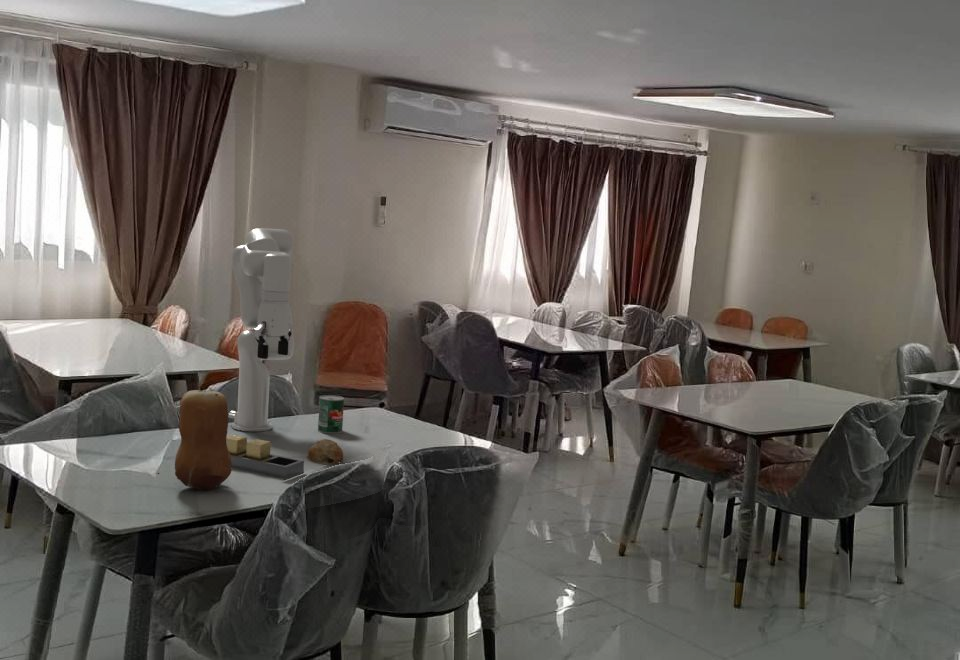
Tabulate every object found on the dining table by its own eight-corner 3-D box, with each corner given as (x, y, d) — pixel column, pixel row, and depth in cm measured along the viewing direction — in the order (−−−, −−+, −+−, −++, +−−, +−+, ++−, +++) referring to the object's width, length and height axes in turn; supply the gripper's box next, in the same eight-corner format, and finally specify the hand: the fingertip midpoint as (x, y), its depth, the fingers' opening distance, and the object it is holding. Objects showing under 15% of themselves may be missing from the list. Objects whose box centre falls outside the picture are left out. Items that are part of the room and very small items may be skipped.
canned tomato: (321, 427, 321) (323, 394, 320) (345, 429, 320) (347, 396, 319) (314, 432, 314) (316, 398, 312) (338, 434, 313) (340, 400, 311)
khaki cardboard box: (222, 462, 269) (223, 437, 268) (232, 459, 273) (233, 434, 272) (235, 465, 267) (237, 440, 266) (246, 462, 271) (247, 437, 270)
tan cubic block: (245, 467, 266) (247, 442, 265) (255, 463, 270) (257, 439, 269) (259, 470, 264) (260, 444, 263) (269, 466, 268) (270, 441, 267)
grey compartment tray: (211, 464, 268) (212, 452, 267) (231, 458, 276) (231, 446, 275) (285, 480, 258) (285, 467, 258) (303, 473, 266) (304, 460, 266)
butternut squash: (209, 477, 256) (213, 383, 252) (241, 490, 247) (245, 392, 244) (162, 486, 245) (165, 388, 242) (193, 499, 236) (197, 398, 233)
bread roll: (310, 476, 276) (315, 455, 272) (301, 453, 284) (306, 431, 280) (343, 474, 281) (349, 453, 277) (333, 451, 289) (339, 430, 285)
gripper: (282, 294, 289) (279, 351, 291) (246, 297, 273) (243, 358, 275) (303, 297, 286) (300, 355, 288) (268, 300, 270) (265, 361, 272)
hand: (272, 356), depth 281 cm, fingers open, 9 cm apart
